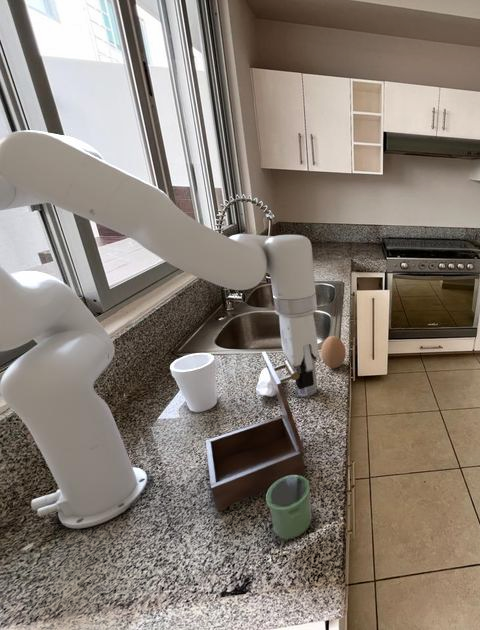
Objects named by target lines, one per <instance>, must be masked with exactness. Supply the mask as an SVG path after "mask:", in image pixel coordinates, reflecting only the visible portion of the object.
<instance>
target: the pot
mask: <svg viewBox="0 0 480 630" xmlns="http://www.w3.org/2000/svg"><path fill="white" fill-rule="evenodd" d="M310 491H311V488H310V482H309V480H308V479H307V478H306V477H304V476H303V475H301V476H299V475H290V476H286V477H283V478H281V479H279V480H277V481H276V482H275V483H274V484H273V485H272V486H271V487H270V488H269V489H268V490H267V492H266V494H265V502H266V505H267V507H268V508H269V512H270V513H269V514H270V519H271V523H272V528H273V532H274V534H275V536H277V537H278V538H279V539H284V540H285V539H286V540H288V539H294V538H296V537H299V536H300V535H302V534H303V533H305V531H306V530H307V529H308V528H309V526H310V525H311V524H312V523H311V522H312V519H313V514H312V507H311V499H310Z"/></svg>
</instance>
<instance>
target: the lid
mask: <svg viewBox="0 0 480 630" xmlns="http://www.w3.org/2000/svg"><path fill="white" fill-rule="evenodd" d="M261 355H262V358H263V360H264V364H265V368H266V367H267V370H268V372H269V375H270V378H271V381H272V384H273V387H274V389H275V392H276V395H275V396H276V397H277V400H278V404H279V406H280V409H281V412H282V415H284V417H285V419H286V421H287V424H288V426H289V428H290V430H291V433H292V435H293V437H294V439H295V442H296V444H297V446H298V448H299V450H300V452H301V451H302V452H303V451H304V450H305V448H304V446H303V443H302V440H301V437H300V433H299V431H298V428H297V425H296V421H295V419H294V417H293V413H292V410H291V407H290V404H289V401H288V398H287V395H286V392H285V390H284V386H283V383H286V382H288V381H290V380H293V381H296V380H297V379H298V378H299V377H300V374H299V373H298V371H297V369H296V368H295V366H293V365H292V364H291V363H290V361H289V360H288V359H286V360H284V362H283V363H281V364H279V365H276V366H274V365H273V363H272V362H271V359H270V357H269V355H268V354H267V352H266V350H265V351H262V352H261ZM282 369H286V371H287V373H288V375H286V376H283V377H282V378H280V379H279V377H278V375H277V373H276V371H277V370H282Z"/></svg>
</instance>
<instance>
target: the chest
mask: <svg viewBox="0 0 480 630" xmlns="http://www.w3.org/2000/svg"><path fill="white" fill-rule="evenodd" d="M205 450H206V451H205V452H206V458H207V466H208V475H209V484H210V490H211V494H212V497H213V503H214V506H215V509H216V511H217V512H218V511H220V510H223V509H225V508H227V507H228V508H229V507H230V506H233V505H234V504H237V503H239V502H242V501H244V500H246V499H249V498H252V497H254V496H256V495H258V494H260V493H263V492H266V491H268V490H269V488H270V487H271V486H272V485H273V484H274V483H275V482H276V481H277V480H279V479H281V478H283V477H286V476H290V475H299V476H303V475H305V474H306V471H305V462H304V456H303V451H301V452H300V450H299V448H298V446H297V444H296V442H295V439H294V437H293V435H292V433H291V430H290V428H289V426H288V424H287V421H286V419H285V417H284V415H283V414H282V415H279V416H276V417H273V418H270V419H267V420H264V421H261V422H258V423H255V424H252V425H249V426H246V427H242V428H240V429H236V430H233V431H230V432H228V433H224V434H222V435H218V436H215V437H212V438H209V439H206V440H205Z"/></svg>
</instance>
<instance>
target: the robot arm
mask: <svg viewBox="0 0 480 630" xmlns="http://www.w3.org/2000/svg"><path fill="white" fill-rule="evenodd" d="M42 204H50V205H52V206H54V207H57V208H60V209H62V210H64V211H67V212H69V213H71V214H74V215H77V216H79V217H81V218H84V219H86V220H88V221H91V222H92V223H96V224H98V225H99V226H102V227H105V228H107V229H109V230H112V231H114V232H116V233H119V234H121V235H123V236H126V237H128V238H129V239H131V240H134V241H135V242H136V243H138V244H139V245H140V246H142V247H143V248H145V250H147V251H149V252H150V253H152V254H154V255H155V256H156V257H158V258H160V259H161V260H163V261H165V262H166V263H167V264H169V265H171V266H173V267H174V268H177V269H179V270H180V271H183V272H185V273H187V274H189V275H191V276H194V277H196V278H199V279H202V280H204V281H207V282H209V283H211V284H214V285H216V286H219V287H222V288H225V289H228V290H234V291H246V290H250V289H253V288H255V287H256V286H258V285H259V284H260V283H261V282H262V281H263V279H264V277H265V276H266V274H268V275H269V277H270V283H271V285H270V286H271V291H272V297H273V305H274V313H275V315H277V316H278V318H279V320H278V321H279V331H280V343H281V349H282V351H283V353H284V355H285V357H286V358H287V360H289V361H290V363H291V364H292V365H293V366H295V368H297V371H298V373H299V374H300V377H299V378H298V379H297V380H295V385H296V388H297V387H298V389H302V388H306V387H309V386H312V385H314V380H313V364H312V358H313V360H314V362H317V361H318V360H319V345H318V336H317V329H316V321H315V317H314V313H316V311H317V310H318V302H317V291H316V280H315V269H314V257H313V248H312V247H313V246H312V242H311V239H309V238H308V237H307V236H305V235H301V234H278V235H275V236H274V235H273V236H272V235H261V234H260V235H259V234H252V233H251V234H250V233H238V234H233V235H230V236H227V235H224V234H223V233H220V232H219V231H216V230H214V229H213V228H211V227H208V226H207V225H205V224H202V223H201V222H199V221H197V220H196V219H194V218H192V217H191V216H189V215H188V214H187V213H186V212H184V211H183V210H182V209H180V208H179V207H178V206H177V205H176V204H175V203H174V201H173V200H172V199H171V198H170V196H169V195H168V194H166V193H165V192H164V191H163V190H162V189H161V188H158V187H157V186H155V185H153V184H151V183H149V182H147V181H145V180H142V179H141V178H139V177H137V176H135V175H132V174H131V173H129V172H126V171H125V170H123V169H121V168H118V167H117V166H115V165H113V164H111V163H108V162H107V161H106V160H105V159H104V157H103V156H102V155H101V154H100V152H98V150H96V148H93V147H92V146H91V145H90V144H88V143H86V142H84V141H82V140H80V139H77V138H75V137H71V136H68V135H61V134H56V133H51V132H45V131H39V130H17V131H12V132H10V133H8V134H5V135H3V136H2V137H0V211H5V210H11V209H12V210H13V209H18V208H24V207H30V206H35V205H42ZM32 340H33V341H34V342H35V343H36V345H34V346H33V347H32V348H30V349H29V350H28V351H26V352H25V353H23V354H22V355H21V356H19V357H18V358H17V359H16V360H14V361H13V362H12V363H11V364H10V365H9V366H8V368H6V369H5V371H4V373H3V374H2V376H1V379H0V396H1V398H2V400H3V401H4V402H5V404H6V405H7V406H8V407H9V408H10V409H11V410H12V411H13V412H14V413H15V414H16V415H17V416H18V417H19V419H20V420H21V421H22V422H23V423H24V425H25V427H26V428H27V430H28V431H29V433H30V434H31V437H32V438H33V440H34V442H35V444H36V446H37V448H38V449H39V451H40V453H41V455H42V458H43V459H44V461H45V463H46V465H47V467H48V469H49V471H50V472H51V475H52V477H53V478H54V481H55V483H56V484H57V487H58V489H57V490H56V491H55V492H53V493H50V494H46V495H43V496H39V497H37V498H34V499H32V500H31V502H30V505H31V506H30V507H31V510H32V511H36V515H37V516H38V517H39V518H41V517H44V516H46V515H48V514H51V513H53V512H58V515H57V516H58V519H59V521H60V523H61V524H62V525H63V526H64V527H66V528H70V529H84V528H91V527H94V526H97V525H100V524H102V523H105V522H107V521H110V520H112V519H114V518H115V517H118V516H119V515H120V514H122V513H124V512H125V511H127V510H128V509H129V508H130V507H131V504H132V503H133V502H134V501H136V499H137V498H139V497H140V496H141V495H142V493H143V491H144V490H145V488H146V486H147V485H148V475H147V473H146V471H145V470H144V469H142V468H140V467H135V466H133V465H132V462H131V459H130V457H129V454H128V452H127V449H126V447H125V444H124V442H123V439H122V436H121V434H120V431H119V428H118V425H117V423H116V419H115V418H114V416H113V414H112V411H111V409H110V406H109V405H108V403H107V401H105V400H104V399H103V398H102V397H101V396H100V395H98V393H97V392H96V390H95V382H96V381H97V380H98V378H99V377H100V375H102V373H103V372H104V371H105V370H106V369H107V368H108V367H109V365H110V364H111V362H112V361H113V358H115V357H114V356H115V353H116V352H115V351H116V349H115V344H114V341H113V340H112V337H111V336H110V335H109V333H108V331H107V330H106V329H105V327H103V325H102V324H101V323H100V321H99V320H98V319H97V318H96V316H94V314H93V313H92V312H91V310H90V308H88V307H87V306H86V304H85V303H84V302H83V300H82V299H81V298H80V297H79V295H78V294H77V293H76V292H75V291H74V290H73V289H72V288H71V287H70V286H69V285H68V284H66V283H65V282H64V281H62V280H60V279H58V278H57V277H55V276H53V275H50V274H47V273H44V272H40V271H33V270H22V271H15V272H11V273H10V272H9V271H8V270H7V269H6V268H5V267H4V266H3V265H2V263H0V352H8V351H10V350H11V351H12V350H14V349H17V348H19V347H21V346H23V345H26V344H27V343H29V342H31V341H32Z"/></svg>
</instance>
